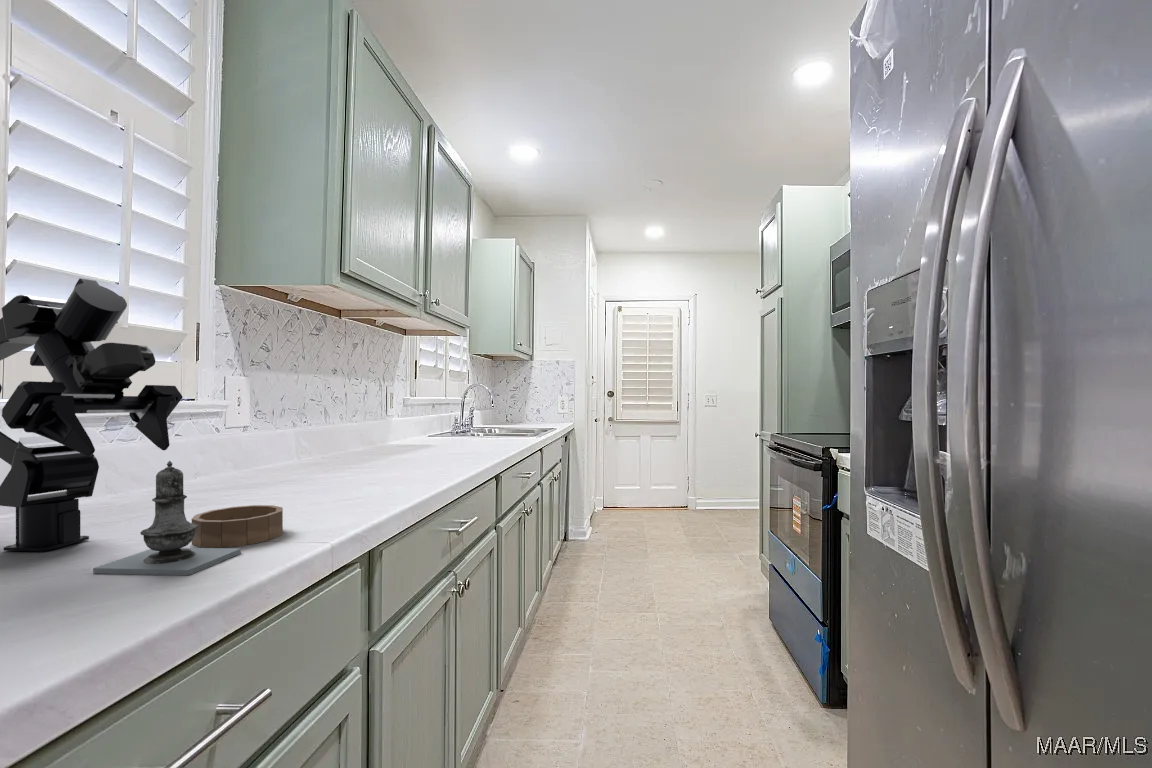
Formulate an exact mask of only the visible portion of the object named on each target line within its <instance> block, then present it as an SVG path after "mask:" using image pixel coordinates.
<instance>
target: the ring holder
mask: <svg viewBox="0 0 1152 768" xmlns="http://www.w3.org/2000/svg"><path fill="white" fill-rule="evenodd" d="M283 512H284V509H283V507H282V506H277V505H267V504H264V505H263V504H256V505H255V504H253V505H239V506H230V507H223V508H218V509H212V510H208V511H204V512H200V513H197V514H195V515H194V516H192V518H191V523H194V524H197V525H198V527H197V529H195V535H194V538H193V540H192V541H191V545H193V546H196V547H197V548H233V547H240V546H241V547H242V546H249V545H253V544H257V543H263V542H267V541H271V540H273V539H275V538H278V537H280V536H282V535H283V531H284V526H283V524H284V523H283V522H284V520H283V517H284V516H283V514H284V513H283Z"/></svg>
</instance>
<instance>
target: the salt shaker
mask: <svg viewBox="0 0 1152 768" xmlns="http://www.w3.org/2000/svg"><path fill="white" fill-rule="evenodd" d="M166 466H167V467H165V468H164V469H162V470H160V471H158V472H157V473H156V476H155V497H154V498H152V499H151V501H152V502H154V507H155V508H154V518H153V521H152V524H151V525H150V526H149V527H147V528H145V529H142V530H141V531H140V532H139V533H140V535H141V536H143V541H144V544H145V545H146V547H147V548H149V549H151V550H154V551H159V552H157V553H153V554H151V555H149V556H148V557H147V558H145V559H144V560H143V561H144V563H147V564H163V563H171V562H176V561H181V560H185V559H188V558H191V557H193V556H195V554H196V553H195V552H194V551H191V550H189V549H180V548H186V546H188V545H189V544H190V543H192V540H193V538H194V535H195V529H197V527H198V525H197V524H194V523H192V522H189V521H188V520H187V517H186V514H185V499H187V498H188V495H186V494H184V473H183V471H182V470H181V469H178V468H175V467H174V466H173V462H171V460H169V461H168V462H167V463H166Z"/></svg>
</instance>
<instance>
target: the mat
mask: <svg viewBox="0 0 1152 768" xmlns="http://www.w3.org/2000/svg"><path fill="white" fill-rule="evenodd" d="M180 549H189V550H191V551H194V552H195V553H196V554H195V556H193V557H191V558H188V559H185V560H181V561H176V562H171V563H163V564H147V563H144V561H143V560H144V559H145V558H147V557H148V556H149V555H151V554H153V553H157V552H159V551H154V550H151V549H150V548H149V549H146V550H143V551H140V552H138V553H134V554H132V555H128V556H125V557H122V558H119V559H116V560H114V561H110V562H108V563H105V564H101V565H99V566H95V567H93V568H92V574H107V575H108V574H109V575H111V574H112V575H115V574H116V575H158V576H159V575H161V576H163V575H164V576H165V575H166V576H190V575H192V574H195V573H197V572H199V571H202V570H204V569H207V568H209V567H211V566H214V565H216V564H219V563H221V562H223V561H227V560H228V559H231V558H233V557H235V556H237V555H240V554H242V548H233V547H223V548H210V547H182V548H180Z"/></svg>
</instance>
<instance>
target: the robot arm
mask: <svg viewBox="0 0 1152 768" xmlns="http://www.w3.org/2000/svg"><path fill="white" fill-rule="evenodd" d="M70 293H71V294H70V295H69V296H68V299H66V300H65V299H58V298H50V297H41V296H33V295H26V294H19V295H16V296H14V297H13V298H12V299H10V300H9V301H8V302H7V303H6V304H4V305H3V306H2V307H1V313H2V317H1V318H0V361H2V360H5V359H7V358H9V357H11V356H13V355H15V354H17V353H19V352H21V351H23V350H25V349H28V348H30V347H32V346H33V348H34V351H33V353H32V355H31V356H30V358H29V364H30V366H31V367H33V366H34V367H45V368H46V369H47V371H48V373H49V374H50V375H51V377H52V380H51V381H33V380H32V381H31V380H30V381H27V380H25V381H24V380H23V381H21V383H20V384H18V386H17V387H16V388H15V390H14V392H13V393H12V395H11V396H10V397H9V398H8V400H7V402H6V403H5V404H4V405H3V407H2V410H0V459H1V460H2V461H4V463H7V464H8V465H9V466H11V467H10V470H9V472H8V473H7V474H6V477H5V478H4V479H3V481H2V482H1V484H0V507H7V508H8V507H10V508H15V543H14V544H10V545H6V546H3V551H9V552H10V551H11V552H18V551H19V552H47V551H50V550H55V549H58V548H63V547H67V546H70V545H72V544H75V543H80V542H83V541H84V542H85V541H87V540H89V539H90V535H81V510H80V509H79V506H80V505H79V504H80V502H79V499H80V498H90V497H92V496H93V493H94V490H95V486H96V485H95V484H96V482H97V479H98V478H97V477H98V473H99V469H100V465H99V461H98V459H97V457H96V456H95V454H94V453H95V452H96V448H95V446H94V444H93V441H92V439H91V438H90V436H89V434H88V433H87V432H86V429H85V428H84V427H83V425H82V423H81V422H80V420H79V417H77V415H76V414H108V413H109V414H110V413H111V414H112V413H113V414H115V413H116V414H117V413H119V414H121V413H122V414H124V413H129V414H128V416H129V417H130V419H131V420H132V421H133V422H135V423H136V424H135V428H136V430H138V431H139V432H140V433H141V434H142V435H144V436H145V437H146V438H147V439H148V440H149V441H150V442H152V443H153V444H154V445H155V446H156V447H157V448H158V449H160V450H161V451H167V450H168V448H169V447H170V438H169V436H170V435H169V431H168V430H169V429H168V417H169V416H170V415H171V413H173V411H174V410H175V409H176V407H177V406H178V404H179V403H180V402H181V400H182V399H184V397H183V395H182V393H181V392H180V390H178V388H177V386H176V385H163V384H161V385H159V384H146V385H144V387H143V388H142V389H141V390H140V392H139V393H138V395H134V396H133V395H124V394H125V393H124V389H130V387H131V385H132V384H133V381H132V380H131V379H130V378H131V377H132V376H134V375H136V374H137V373H138V372H145V371H148V370H149V369H150V368H152V367H154V366H155V364H156V358H155V354H154V353H153V351H152V350H151V349H150V348H149V347H148V346H147V345H139V344H132V343H131V344H130V343H121V342H105V343H102V344H99V345H98V346H96V347H94V345H93V343H92V342H94V343H95V342H101V341H106V340H107V339H108V336H109V335H110V334H111V332H112V330H113V329H114V327H115V326H116V324H117V323H118V322H119V320H120V318H121V317H122V315H123V313H124V312H125V310H126V309H127V307H128V303H127V301H126V299H125V298H124V297H123V296H121V295H119V294H118V293H116V292H114V291H113V290H111V289H109V288H107V287H105V286H102V285H100V284H99V282H98V281H97V280H94V279H87V278H81V277H80V278H78V280H77V282H76V283H75V285H74V288H73V290H72V292H70ZM2 387H3V386H2V385H1V383H0V394H1V393H2V391H3V388H2Z"/></svg>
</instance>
